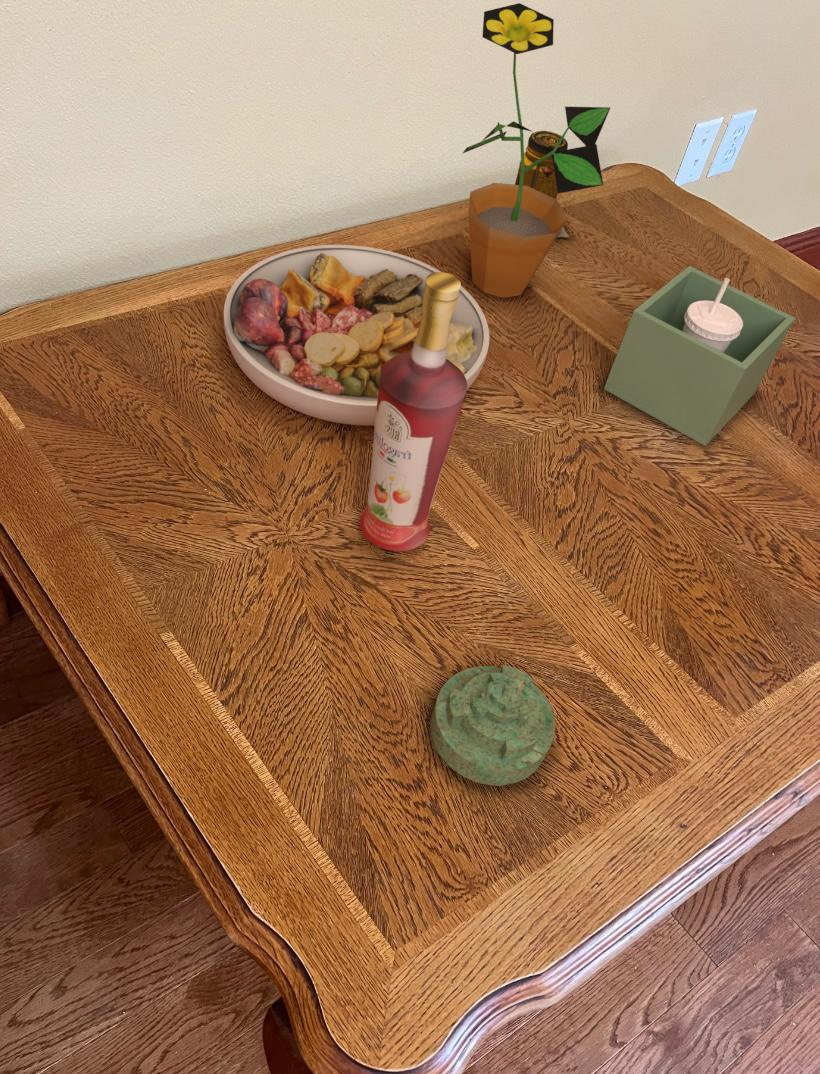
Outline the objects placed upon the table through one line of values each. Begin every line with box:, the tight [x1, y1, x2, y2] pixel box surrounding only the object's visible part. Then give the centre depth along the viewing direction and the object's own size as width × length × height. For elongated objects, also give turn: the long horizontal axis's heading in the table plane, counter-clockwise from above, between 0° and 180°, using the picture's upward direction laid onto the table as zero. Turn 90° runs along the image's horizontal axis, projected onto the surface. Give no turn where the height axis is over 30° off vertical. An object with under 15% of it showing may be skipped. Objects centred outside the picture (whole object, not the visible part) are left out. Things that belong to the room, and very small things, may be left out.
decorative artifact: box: [429, 664, 556, 787], centre depth 77 cm, size 10×7×10 cm
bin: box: [603, 265, 796, 447], centre depth 108 cm, size 14×14×11 cm
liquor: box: [359, 271, 468, 552], centre depth 81 cm, size 7×7×28 cm
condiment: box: [514, 130, 570, 238], centre depth 128 cm, size 7×8×12 cm
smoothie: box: [682, 277, 743, 353], centre depth 106 cm, size 6×6×14 cm
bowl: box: [223, 244, 490, 427], centre depth 106 cm, size 30×30×8 cm
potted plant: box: [461, 2, 611, 299], centre depth 111 cm, size 18×19×30 cm
